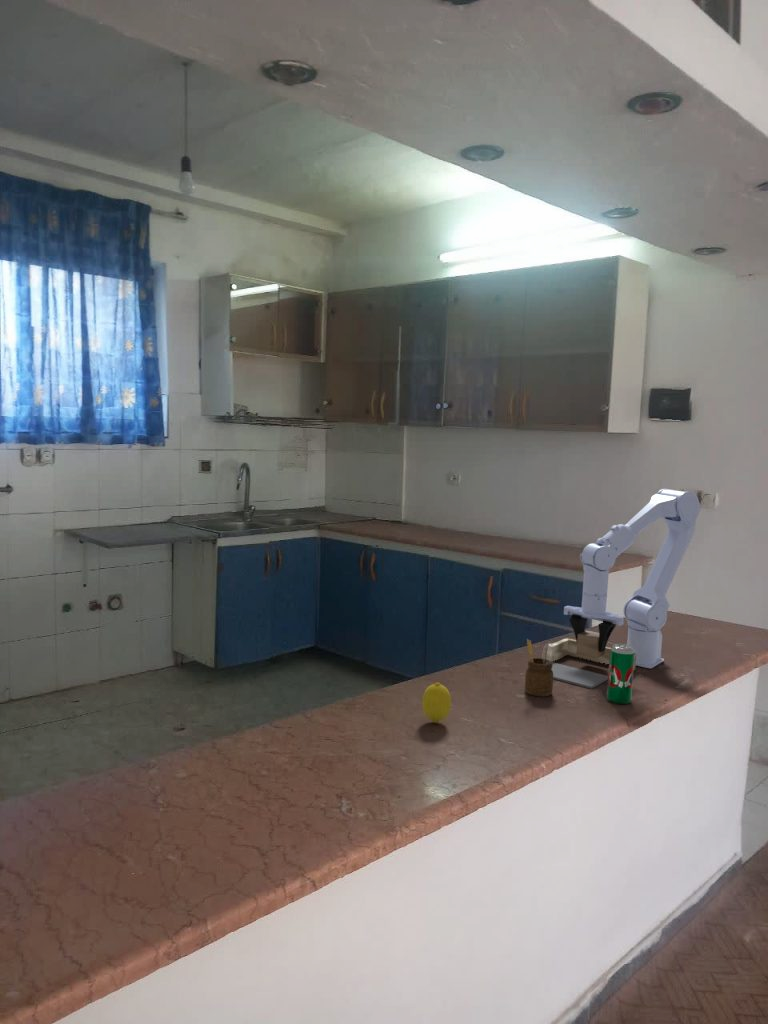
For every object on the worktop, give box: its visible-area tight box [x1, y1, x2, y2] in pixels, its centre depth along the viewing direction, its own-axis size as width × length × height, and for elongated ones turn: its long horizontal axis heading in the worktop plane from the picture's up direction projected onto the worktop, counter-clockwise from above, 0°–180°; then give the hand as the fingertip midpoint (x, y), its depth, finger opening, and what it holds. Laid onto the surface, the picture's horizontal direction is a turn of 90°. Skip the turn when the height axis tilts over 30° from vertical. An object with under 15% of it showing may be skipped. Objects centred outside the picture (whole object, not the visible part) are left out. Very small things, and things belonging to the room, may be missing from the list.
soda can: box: [606, 643, 635, 705], centre depth 165 cm, size 5×5×12 cm
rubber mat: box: [552, 662, 608, 690], centre depth 182 cm, size 10×15×1 cm, turn 51°
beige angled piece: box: [546, 637, 637, 671], centre depth 190 cm, size 10×18×4 cm, turn 51°
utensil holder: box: [524, 638, 554, 698], centre depth 169 cm, size 6×6×12 cm
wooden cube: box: [576, 630, 605, 659], centre depth 189 cm, size 5×5×5 cm
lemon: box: [421, 682, 452, 724], centre depth 149 cm, size 6×6×8 cm
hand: (590, 648), depth 189 cm, fingers closed on wooden cube, 5 cm apart
